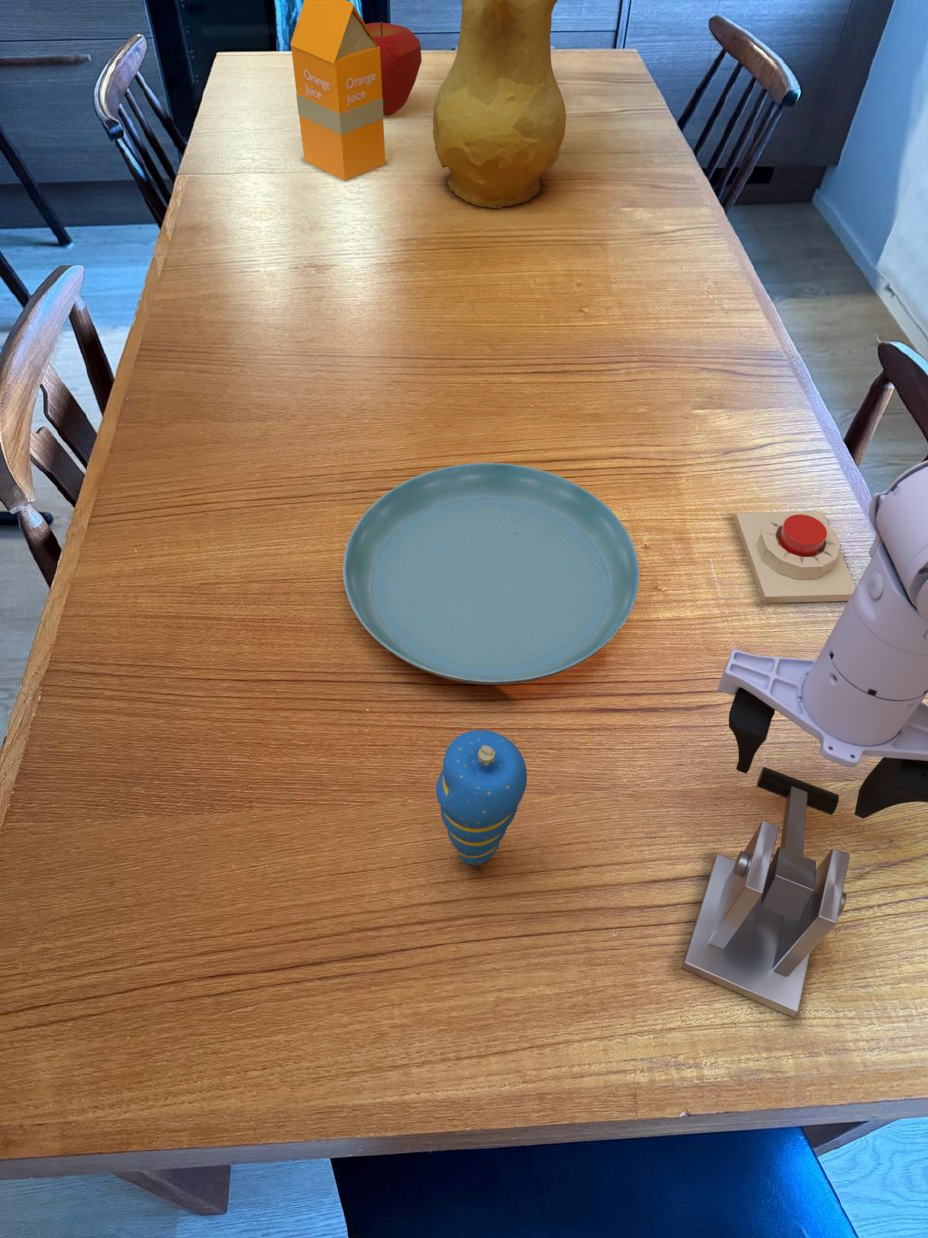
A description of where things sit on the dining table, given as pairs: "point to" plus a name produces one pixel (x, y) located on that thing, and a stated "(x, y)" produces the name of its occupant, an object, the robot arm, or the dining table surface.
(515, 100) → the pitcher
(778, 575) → the button block
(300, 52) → the orange juice
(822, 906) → the bracket
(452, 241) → the dining table surface
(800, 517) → the button
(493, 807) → the ornament
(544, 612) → the teal plate
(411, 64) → the apple
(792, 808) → the lever
